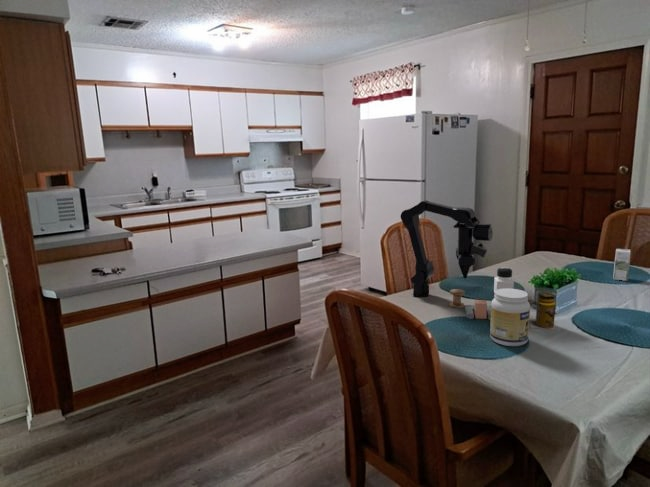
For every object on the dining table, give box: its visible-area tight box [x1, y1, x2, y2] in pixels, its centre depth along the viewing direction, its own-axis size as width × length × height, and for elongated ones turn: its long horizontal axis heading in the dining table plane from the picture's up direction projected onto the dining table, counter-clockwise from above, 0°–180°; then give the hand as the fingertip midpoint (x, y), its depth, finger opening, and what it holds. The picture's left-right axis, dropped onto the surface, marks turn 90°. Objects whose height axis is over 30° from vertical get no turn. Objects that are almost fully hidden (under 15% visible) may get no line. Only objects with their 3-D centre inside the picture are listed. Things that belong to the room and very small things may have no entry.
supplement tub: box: [489, 288, 531, 347], centre depth 152 cm, size 12×12×17 cm
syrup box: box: [612, 248, 631, 282], centre depth 213 cm, size 6×6×14 cm
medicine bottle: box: [493, 267, 515, 294], centre depth 198 cm, size 7×7×12 cm
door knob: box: [448, 288, 466, 309], centre depth 187 cm, size 6×6×6 cm
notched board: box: [464, 304, 491, 321], centre depth 177 cm, size 10×10×2 cm
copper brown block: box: [473, 299, 488, 320], centre depth 175 cm, size 4×4×6 cm
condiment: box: [529, 292, 557, 331], centre depth 164 cm, size 7×8×12 cm
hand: (464, 275), depth 189 cm, fingers open, 9 cm apart
